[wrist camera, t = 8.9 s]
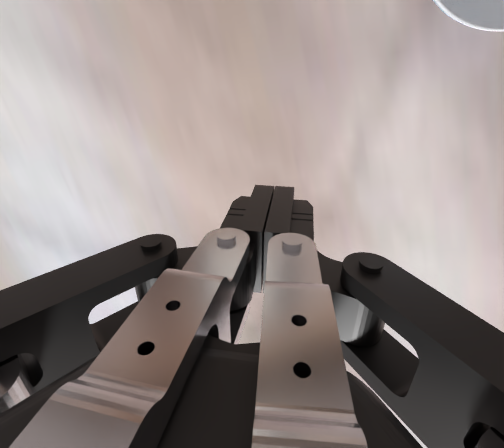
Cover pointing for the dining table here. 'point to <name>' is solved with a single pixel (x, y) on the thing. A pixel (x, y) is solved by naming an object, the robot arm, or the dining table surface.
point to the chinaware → (475, 13)
